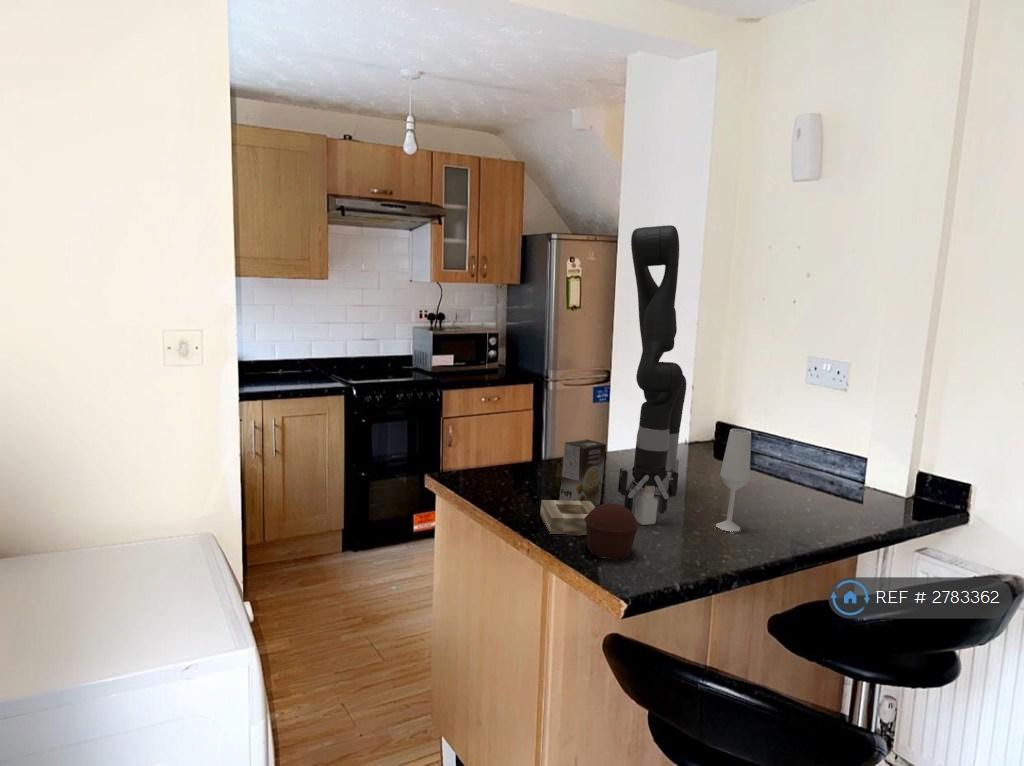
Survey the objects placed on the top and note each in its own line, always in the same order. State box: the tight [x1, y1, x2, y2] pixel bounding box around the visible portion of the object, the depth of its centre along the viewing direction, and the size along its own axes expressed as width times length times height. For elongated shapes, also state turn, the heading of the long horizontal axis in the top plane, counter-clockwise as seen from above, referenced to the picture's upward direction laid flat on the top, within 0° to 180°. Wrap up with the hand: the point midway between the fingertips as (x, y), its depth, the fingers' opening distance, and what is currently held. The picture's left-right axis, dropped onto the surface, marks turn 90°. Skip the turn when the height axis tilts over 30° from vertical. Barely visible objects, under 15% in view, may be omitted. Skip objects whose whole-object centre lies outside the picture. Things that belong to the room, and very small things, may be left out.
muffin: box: [584, 502, 640, 560], centre depth 147 cm, size 12×11×10 cm
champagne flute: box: [715, 428, 752, 532], centre depth 166 cm, size 7×7×24 cm
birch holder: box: [539, 499, 596, 536], centre depth 161 cm, size 12×12×4 cm
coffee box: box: [558, 439, 607, 507], centre depth 176 cm, size 9×6×16 cm
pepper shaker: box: [633, 486, 659, 526], centre depth 166 cm, size 4×4×10 cm
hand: (644, 512), depth 167 cm, fingers open, 7 cm apart
